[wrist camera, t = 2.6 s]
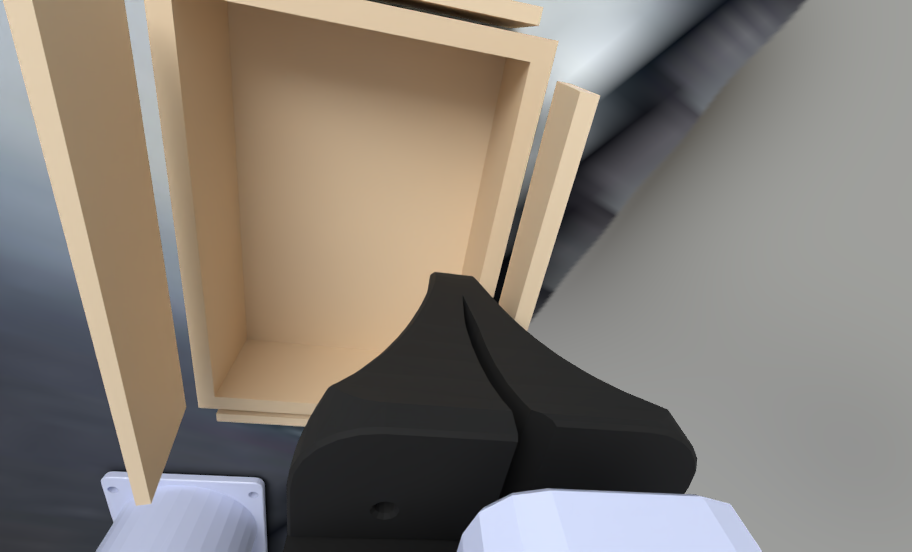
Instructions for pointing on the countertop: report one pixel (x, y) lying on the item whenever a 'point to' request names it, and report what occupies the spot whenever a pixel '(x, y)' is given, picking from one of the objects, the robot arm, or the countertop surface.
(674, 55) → the countertop surface
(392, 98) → the carton
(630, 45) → the countertop surface
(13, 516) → the countertop surface
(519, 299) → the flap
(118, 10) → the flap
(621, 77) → the countertop surface
